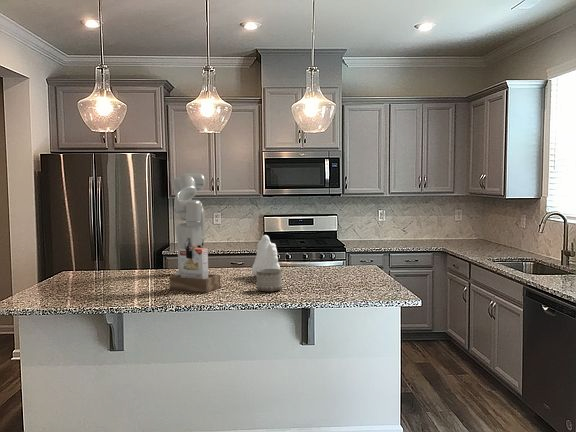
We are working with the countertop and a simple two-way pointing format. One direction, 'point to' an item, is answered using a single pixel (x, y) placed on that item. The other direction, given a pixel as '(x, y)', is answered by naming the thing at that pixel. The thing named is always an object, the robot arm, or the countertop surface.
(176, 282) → the walnut crate
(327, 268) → the countertop surface
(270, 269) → the planter
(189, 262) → the cracker box
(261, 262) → the white fluffy lump
